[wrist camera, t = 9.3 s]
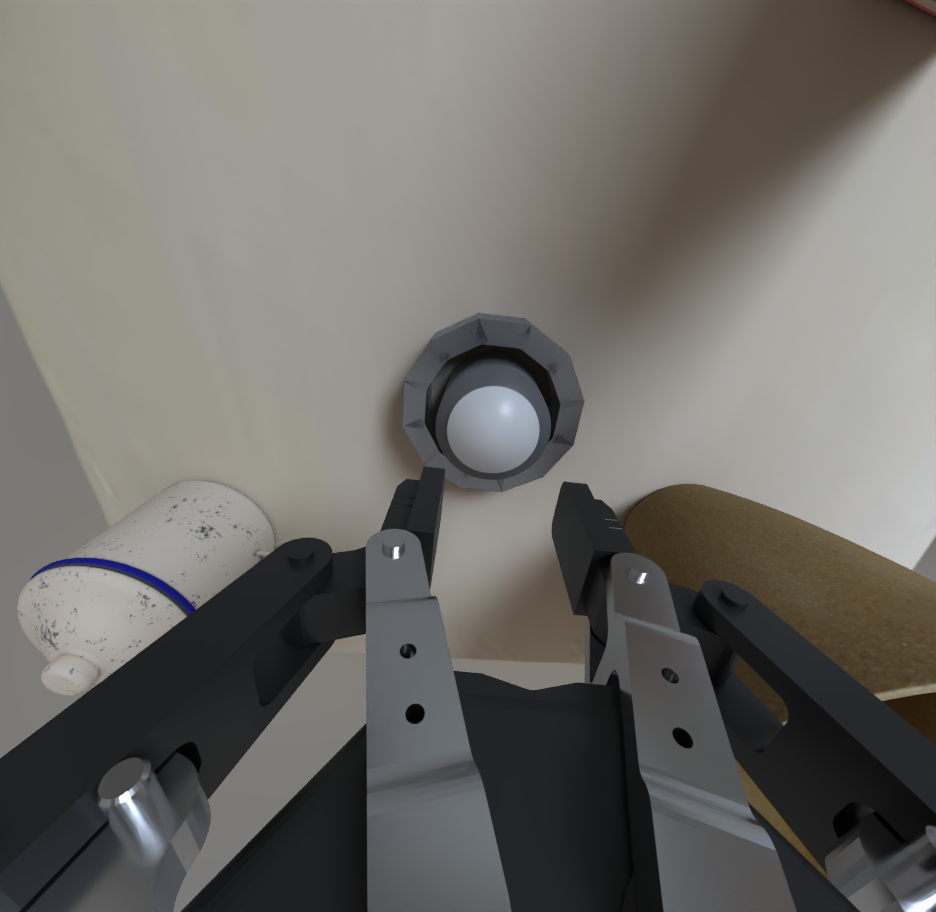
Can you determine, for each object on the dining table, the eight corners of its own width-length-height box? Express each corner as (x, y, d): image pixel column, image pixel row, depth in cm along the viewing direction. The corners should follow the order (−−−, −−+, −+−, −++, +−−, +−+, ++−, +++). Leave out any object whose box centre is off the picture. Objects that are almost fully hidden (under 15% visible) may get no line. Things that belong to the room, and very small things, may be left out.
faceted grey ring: (414, 305, 21) (406, 309, 18) (587, 325, 21) (601, 332, 19) (407, 461, 25) (400, 481, 23) (552, 476, 25) (560, 498, 23)
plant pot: (617, 406, 23) (847, 631, 9) (834, 463, 24) (1348, 740, 10) (537, 584, 29) (593, 885, 15) (712, 622, 31) (920, 931, 16)
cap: (448, 347, 22) (438, 367, 17) (545, 357, 22) (563, 380, 17) (442, 436, 24) (431, 477, 19) (529, 446, 24) (540, 488, 19)
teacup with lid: (171, 572, 30) (4, 735, 19) (136, 469, 26) (-99, 605, 15) (325, 583, 30) (242, 752, 19) (313, 483, 26) (201, 627, 15)
